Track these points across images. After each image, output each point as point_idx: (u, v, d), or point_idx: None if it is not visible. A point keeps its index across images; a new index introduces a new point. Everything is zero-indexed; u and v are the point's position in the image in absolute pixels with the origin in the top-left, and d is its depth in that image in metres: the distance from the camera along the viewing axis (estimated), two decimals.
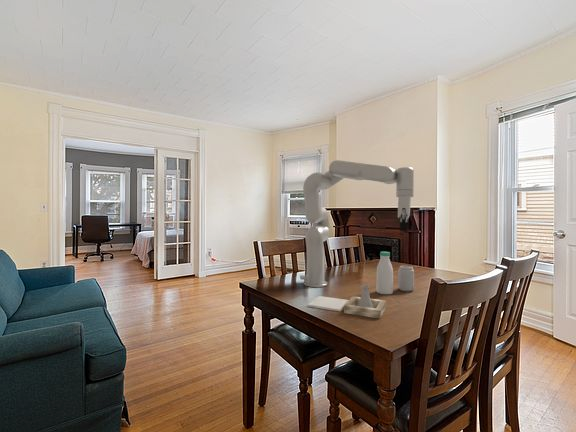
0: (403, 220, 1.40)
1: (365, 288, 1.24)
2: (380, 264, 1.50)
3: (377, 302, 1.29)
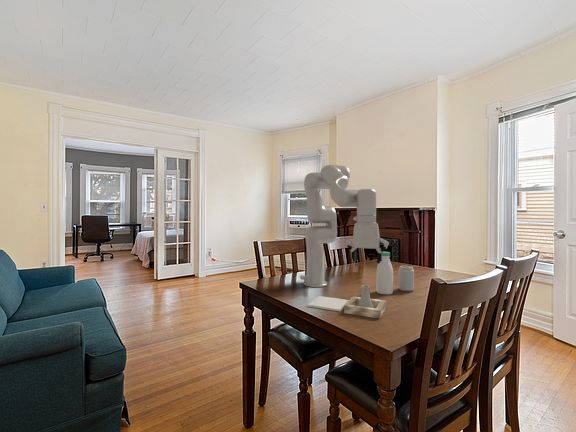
0: None
1: (365, 288, 1.24)
2: (380, 264, 1.50)
3: (377, 302, 1.29)
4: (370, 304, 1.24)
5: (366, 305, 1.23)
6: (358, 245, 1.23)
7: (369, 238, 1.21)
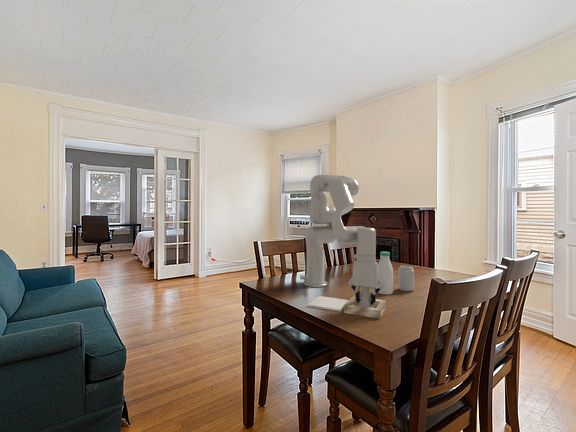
0: None
1: (365, 288, 1.24)
2: (380, 264, 1.50)
3: (377, 302, 1.29)
4: (370, 304, 1.24)
5: (366, 305, 1.23)
6: (357, 284, 1.24)
7: (368, 277, 1.22)
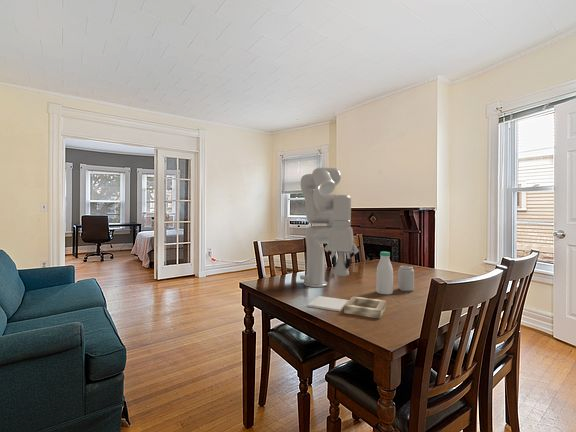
0: (352, 256, 1.29)
1: (340, 253, 1.29)
2: (380, 264, 1.50)
3: (377, 302, 1.29)
4: (345, 268, 1.29)
5: (341, 269, 1.28)
6: (333, 248, 1.29)
7: (343, 242, 1.27)
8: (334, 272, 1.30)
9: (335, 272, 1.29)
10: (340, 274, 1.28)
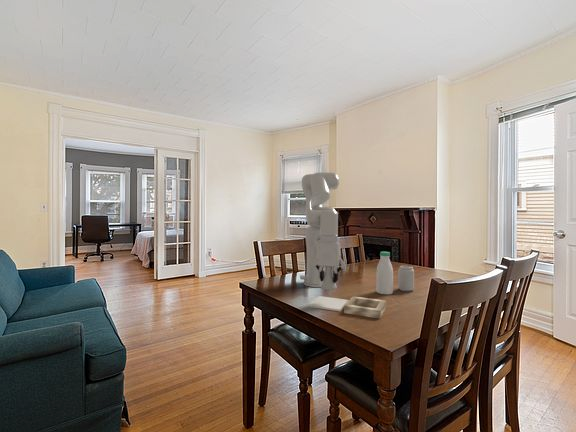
0: None
1: (328, 267, 1.32)
2: (380, 264, 1.50)
3: (377, 302, 1.29)
4: (332, 282, 1.31)
5: (328, 283, 1.31)
6: (321, 263, 1.32)
7: (330, 257, 1.30)
8: (322, 286, 1.32)
9: (322, 286, 1.32)
10: (327, 288, 1.30)
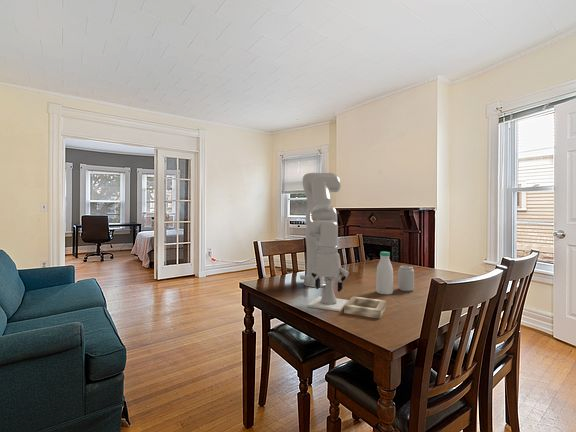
0: (343, 280, 1.30)
1: (328, 281, 1.32)
2: (380, 264, 1.50)
3: (377, 302, 1.29)
4: (332, 296, 1.32)
5: (328, 297, 1.31)
6: (320, 274, 1.32)
7: (330, 268, 1.30)
8: (322, 300, 1.33)
9: (322, 300, 1.32)
10: (327, 302, 1.31)
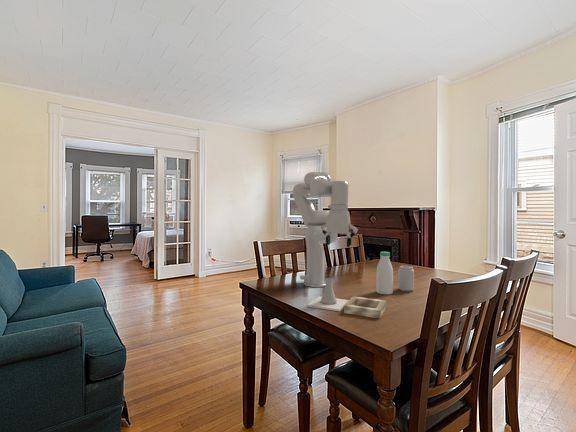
0: (352, 236, 1.38)
1: (328, 281, 1.32)
2: (380, 264, 1.50)
3: (377, 302, 1.29)
4: (332, 296, 1.32)
5: (328, 297, 1.31)
6: (331, 230, 1.40)
7: (340, 224, 1.38)
8: (322, 300, 1.33)
9: (322, 300, 1.32)
10: (327, 302, 1.31)
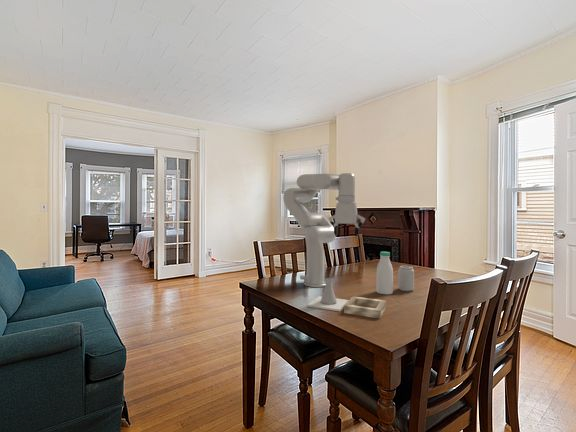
0: (360, 225, 1.44)
1: (328, 281, 1.32)
2: (380, 264, 1.50)
3: (377, 302, 1.29)
4: (332, 296, 1.32)
5: (328, 297, 1.31)
6: (339, 221, 1.45)
7: (348, 215, 1.43)
8: (322, 300, 1.33)
9: (322, 300, 1.32)
10: (327, 302, 1.31)
